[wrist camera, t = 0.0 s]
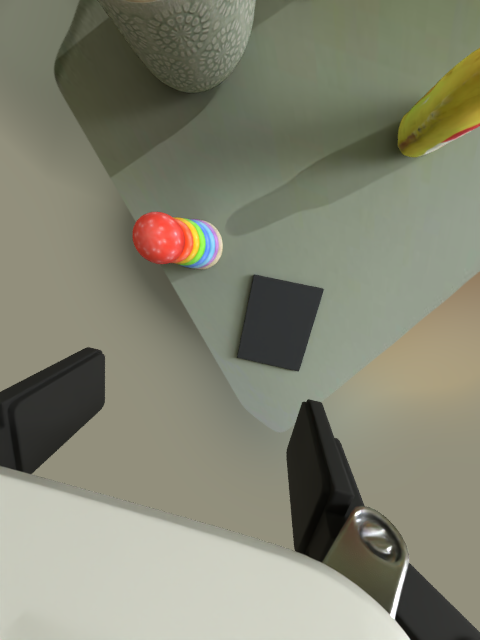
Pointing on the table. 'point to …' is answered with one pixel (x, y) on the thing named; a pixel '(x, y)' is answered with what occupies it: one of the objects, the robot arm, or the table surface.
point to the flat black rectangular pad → (278, 322)
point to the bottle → (443, 110)
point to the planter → (185, 37)
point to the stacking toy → (177, 240)
